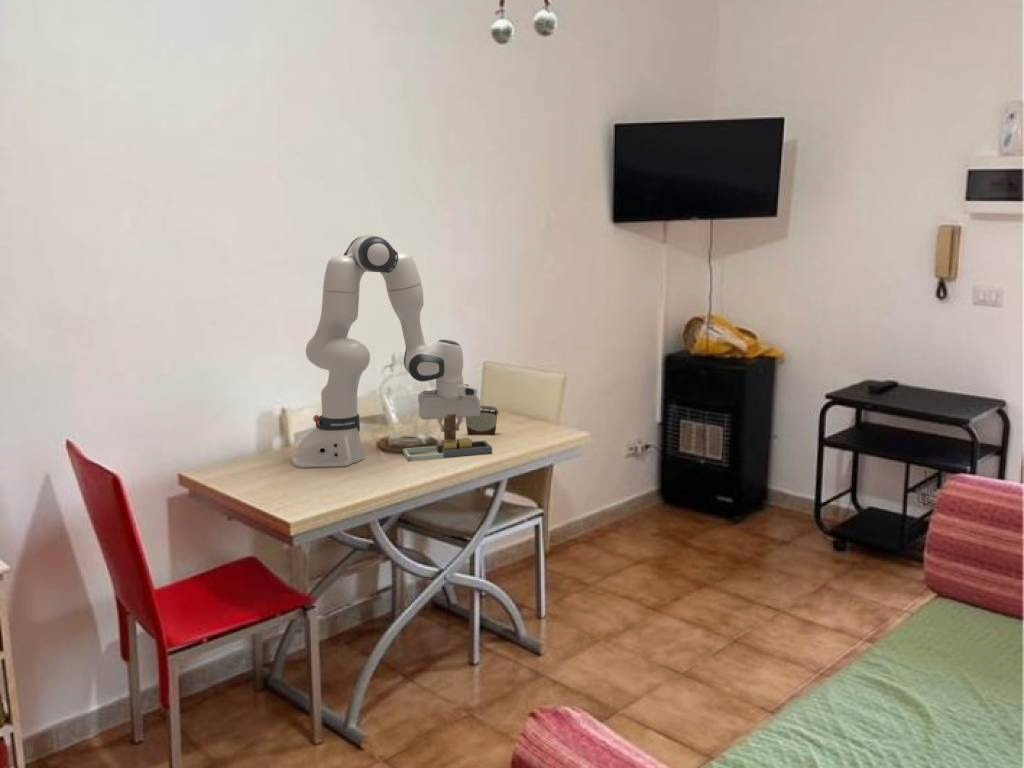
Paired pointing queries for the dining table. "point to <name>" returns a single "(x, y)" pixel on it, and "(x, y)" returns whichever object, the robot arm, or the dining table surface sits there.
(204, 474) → the dining table surface
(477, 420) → the food container
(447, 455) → the dark grey tray
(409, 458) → the tray
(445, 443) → the chip
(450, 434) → the brown rectangular block
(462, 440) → the olive yellow cube
